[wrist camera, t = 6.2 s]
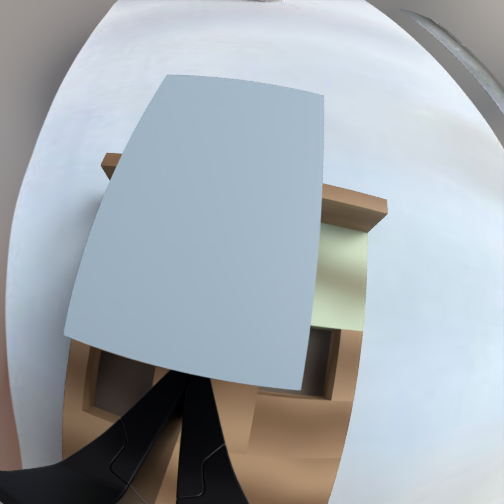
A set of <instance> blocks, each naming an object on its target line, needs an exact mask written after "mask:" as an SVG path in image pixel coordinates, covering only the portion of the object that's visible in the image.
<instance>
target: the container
mask: <svg viewBox="0 0 504 504" xmlns="http://www.w3.org/2000/svg"><path fill="white" fill-rule="evenodd" d="M256 1H262V2H282V1H284V0H256Z"/></svg>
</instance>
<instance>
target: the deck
mask: <svg viewBox="0 0 504 504" xmlns="http://www.w3.org/2000/svg"><path fill="white" fill-rule="evenodd" d="M121 156H122V154H118V153H106V155H105V157H104V159H103V161H102V163H101V167H102V169H103V170H104V172H105V173H106V175H107V177H108V178H109V180H111V177H112V175H113V173H114V171H115V169H116V166H117V164H118V162H119V160H120V158H121ZM387 214H388V209H387V200H386V199H382V198H379V197H375V196H371V195H368V194H364V193H360V192H356V191H352V190H348V189H344V188H340V187H336V186H332V185H327V184H323V185H322V205H321V222H320V236H319V249H318V261H317V272H316V282H315V291H314V301H313V309H312V317H311V325H310V333H309V340H308V347H307V354H306V361H305V367H304V374H303V380H302V386H301V390H291V389H281V388H272V387H264V386H256V385H249V384H243V383H236V382H230V381H224V380H219V379H213V378H211V383H212V388H213V392H214V397H215V401H216V406H217V410H218V414H219V418H220V422H221V427H222V431H223V435H224V439H225V443H226V446H227V450H228V454H229V457H230V460H231V463H232V466H233V469H234V472H235V474H236V476H237V479H238V481H239V483H240V485H241V487H242V490H243V492H244V494H245V496H246V498H247V500H248V502H249V504H328V501H329V498H330V495H331V492H332V488H333V485H334V482H335V478H336V475H337V471H338V467H339V464H340V460H341V456H342V452H343V448H344V444H345V439H346V435H347V431H348V426H349V421H350V416H351V411H352V406H353V400H354V394H355V388H356V382H357V376H358V369H359V361H360V354H361V345H362V336H363V326H364V314H365V300H366V282H367V244H368V232H369V231H370V230H371V229H372V228H373V227H374V226H375V225H376V224H377V223H378V222H380V221H381V220H382V219H383V218H384V217H385V216H386V215H387ZM169 370H170V369H168V368H164V367H160V366H156V365H152V364H148V363H145V362H141V361H138V360H134V359H131V358H127V357H124V356H121V355H118V354H115V353H111V352H108V351H105V350H102V349H100V348H97V347H94V346H91V345H88V344H85V343H83V342H80V341H77V340H75V339H71V345H70V352H69V358H68V365H67V373H66V382H65V392H64V405H63V424H62V461H63V460H64V459H66V458H68V457H69V456H71V455H72V454H74V453H75V452H77V451H78V450H80V449H81V448H83V447H84V446H86V445H87V444H89V443H90V442H92V441H93V440H94V439H96V438H97V437H98V436H100V435H101V434H102V433H104V432H105V431H106V430H107V429H108V428H109V427H110V426H112V425H113V424H114V423H115V422H116V421H117V420H118V419H120V417H121V416H122V415H124V414H125V413H126V412H127V411H128V410H129V409H130V408H131V407H132V406H133V405H134V404H135V403H136V402H137V401H138V400H139V399H140V398H141V397H142V396H143V395H145V394H146V393H147V392H148V391H149V390H150V389H151V388H152V387H153V386H154V385H155V384H156V383H157V382H158V381H159V380H160V379H161V378H162V377H163V376H164V375H165V374H166V373H167V372H168V371H169ZM180 438H181V431H180V434H179V437H178V440H177V442H176V445H175V448H174V451H173V454H172V456H171V459H170V462H169V465H168V468H167V470H166V473H165V476H164V479H163V482H162V485H161V487H160V490H159V493H158V496H157V499H156V502H155V504H176V490H177V475H178V461H179V449H180Z"/></svg>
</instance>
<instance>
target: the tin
mask: <svg viewBox="0 0 504 504" xmlns="http://www.w3.org/2000/svg"><path fill="white" fill-rule="evenodd" d="M323 154H324V95H320V94H315V93H311V92H307V91H302V90H298V89H293V88H288V87H283V86H277V85H272V84H266V83H259V82H253V81H245V80H238V79H229V78H219V77H207V76H190V75H167V76H166V77H165V79H164V80H163V82H162V84H161V85H160V87H159V88H158V90H157V92H156V93H155V95H154V96H153V98H152V100H151V101H150V103H149V105H148V107H147V108H146V110H145V112H144V114H143V115H142V117H141V119H140V121H139V123H138V124H137V126H136V128H135V130H134V132H133V134H132V136H131V138H130V140H129V142H128V144H127V146H126V148H125V150H124V152H123V154H122V156H121V158H120V160H119V162H118V164H117V166H116V169H115V171H114V173H113V175H112V177H111V180H110V182H109V184H108V187H107V189H106V192H105V194H104V196H103V199H102V201H101V204H100V206H99V209H98V212H97V214H96V217H95V220H94V222H93V225H92V228H91V231H90V234H89V237H88V240H87V243H86V246H85V249H84V252H83V255H82V259H81V262H80V265H79V269H78V272H77V276H76V280H75V283H74V287H73V291H72V295H71V299H70V304H69V308H68V313H67V318H66V322H65V328H64V333H63V335H64V336H67V337H70V338H72V339H75V340H77V341H80V342H83V343H85V344H88V345H91V346H94V347H97V348H100V349H102V350H105V351H108V352H111V353H115V354H118V355H121V356H124V357H127V358H131V359H134V360H138V361H141V362H145V363H148V364H152V365H156V366H160V367H164V368H168V369H172V370H176V371H180V372H184V373H189V374H194V375H198V376H203V377H208V378H213V379H219V380H224V381H230V382H236V383H243V384H249V385H256V386H264V387H272V388H281V389H291V390H301V386H302V380H303V374H304V367H305V361H306V354H307V347H308V340H309V333H310V325H311V317H312V309H313V301H314V291H315V282H316V272H317V261H318V249H319V236H320V222H321V205H322V185H323Z"/></svg>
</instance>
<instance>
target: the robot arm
mask: <svg viewBox="0 0 504 504" xmlns="http://www.w3.org/2000/svg"><path fill="white" fill-rule="evenodd" d="M180 431H181V438H180V449H179V461H178V475H177V490H176V504H249V502H248V500H247V498H246V496H245V494H244V492H243V490H242V487H241V485H240V483H239V481H238V479H237V476H236V474H235V472H234V469H233V466H232V463H231V460H230V457H229V454H228V450H227V446H226V443H225V439H224V435H223V431H222V427H221V422H220V418H219V414H218V410H217V406H216V401H215V397H214V392H213V388H212V383H211V378H208V377H203V376H198V375H194V374H189V373H184V372H180V371H176V370H172V369H170V370H169V371H168V372H167V373H166V374H165V375H164V376H163V377H162V378H161V379H160V380H159V381H158V382H157V383H156V384H155V385H154V386H153V387H152V388H151V389H150V390H149V391H148V392H147V393H146V394H145V395H143V396H142V397H141V398H140V399H139V400H138V401H137V402H136V403H135V404H134V405H133V406H132V407H131V408H130V409H129V410H128V411H127V412H126V413H125V414H124V415H122V416H121V417H120V419H118V420H117V421H116V422H115V423H114V424H113V425H112V426H110V427H109V428H108V429H107V430H106V431H105V432H104V433H102V434H101V435H100V436H98V437H97V438H96V439H94V440H93V441H92V442H90V443H89V444H87V445H86V446H84V447H83V448H81V449H80V450H78V451H77V452H75V453H74V454H72V455H71V456H69V457H68V458H66V459H64V460H63V461H61V462H59V463H56V464H54V465H50V466H45V467H38V468H31V469H23V470H15V471H0V504H155V502H156V499H157V496H158V493H159V490H160V487H161V485H162V482H163V479H164V476H165V473H166V470H167V468H168V465H169V462H170V459H171V456H172V454H173V451H174V448H175V445H176V442H177V440H178V437H179V434H180Z"/></svg>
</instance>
